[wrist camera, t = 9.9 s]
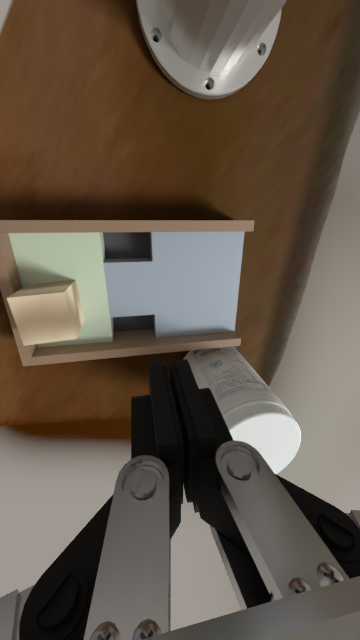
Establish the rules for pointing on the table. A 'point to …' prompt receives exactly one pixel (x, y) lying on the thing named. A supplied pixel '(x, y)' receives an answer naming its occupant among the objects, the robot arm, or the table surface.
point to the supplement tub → (247, 404)
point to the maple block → (47, 312)
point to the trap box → (130, 283)
